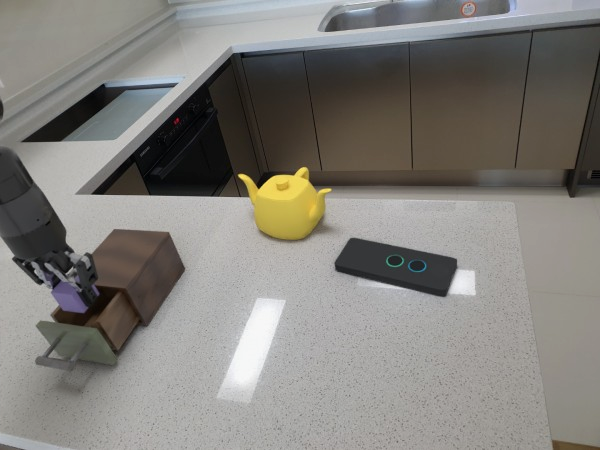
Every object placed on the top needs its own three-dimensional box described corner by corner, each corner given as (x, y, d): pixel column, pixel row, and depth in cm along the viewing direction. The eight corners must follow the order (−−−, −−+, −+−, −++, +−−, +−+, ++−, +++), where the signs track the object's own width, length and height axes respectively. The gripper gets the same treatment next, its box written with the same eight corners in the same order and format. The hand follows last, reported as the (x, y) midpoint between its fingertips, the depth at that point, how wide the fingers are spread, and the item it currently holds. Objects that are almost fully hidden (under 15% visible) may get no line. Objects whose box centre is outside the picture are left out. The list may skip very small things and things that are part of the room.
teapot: (356, 206, 98) (351, 162, 92) (323, 252, 88) (314, 207, 82) (271, 191, 109) (261, 150, 102) (233, 230, 99) (219, 189, 92)
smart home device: (445, 291, 73) (332, 264, 83) (445, 298, 74) (333, 271, 84) (458, 257, 78) (351, 235, 88) (458, 264, 80) (351, 242, 89)
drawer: (96, 391, 71) (72, 360, 66) (39, 380, 74) (13, 350, 70) (156, 302, 84) (139, 271, 79) (105, 296, 88) (87, 267, 83)
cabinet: (147, 326, 81) (125, 288, 75) (90, 318, 85) (65, 282, 79) (185, 268, 91) (169, 231, 86) (133, 264, 96) (114, 228, 90)
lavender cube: (83, 313, 72) (71, 295, 70) (63, 310, 74) (50, 292, 71) (99, 293, 75) (88, 275, 73) (79, 291, 77) (67, 273, 74)
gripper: (-34, 232, 64) (31, 314, 74) (45, 238, 59) (102, 324, 69) (7, 201, 69) (62, 281, 79) (82, 203, 64) (130, 288, 75)
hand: (80, 301), depth 74 cm, fingers closed on lavender cube, 4 cm apart
